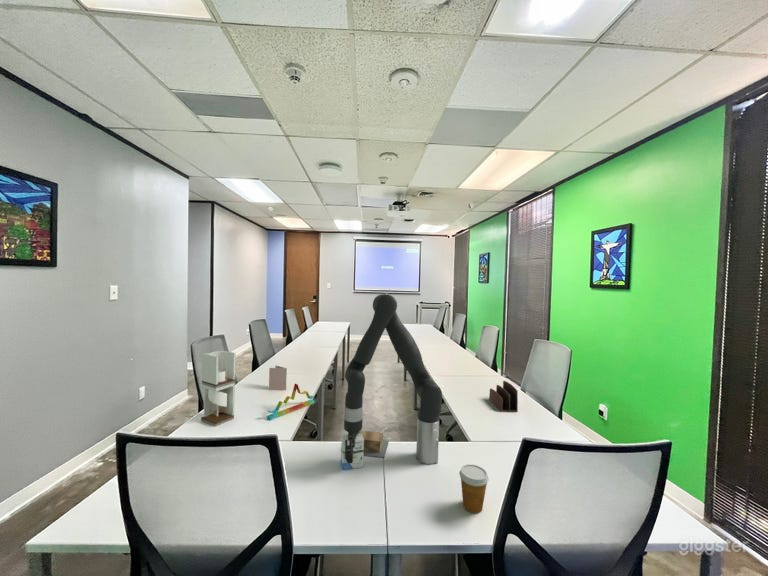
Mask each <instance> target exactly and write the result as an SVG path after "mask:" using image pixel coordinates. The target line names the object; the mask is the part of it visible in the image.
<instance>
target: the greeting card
mask: <svg viewBox="0 0 768 576" xmlns="http://www.w3.org/2000/svg"><path fill="white" fill-rule="evenodd" d="M268 369H269V371H268V373H269V375H268V376H269V377H268V391H287V370H288V369H287V367H283V366H280V365H277V364H276V365H275V366H274V367H269V368H268Z"/></svg>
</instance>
